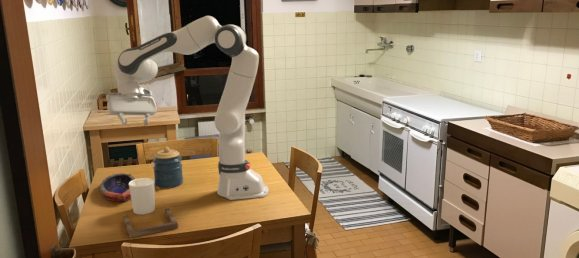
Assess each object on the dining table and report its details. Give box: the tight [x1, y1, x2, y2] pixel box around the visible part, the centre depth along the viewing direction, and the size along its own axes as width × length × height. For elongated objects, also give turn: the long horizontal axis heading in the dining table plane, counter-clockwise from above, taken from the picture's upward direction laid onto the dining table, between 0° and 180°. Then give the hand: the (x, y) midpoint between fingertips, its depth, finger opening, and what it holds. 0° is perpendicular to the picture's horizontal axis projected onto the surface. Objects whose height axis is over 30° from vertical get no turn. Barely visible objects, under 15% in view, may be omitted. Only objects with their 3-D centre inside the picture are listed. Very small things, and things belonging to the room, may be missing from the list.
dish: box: [99, 172, 136, 202], centre depth 206 cm, size 16×31×5 cm, turn 20°
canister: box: [152, 146, 184, 189], centre depth 214 cm, size 13×13×18 cm
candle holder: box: [129, 177, 156, 215], centre depth 186 cm, size 10×10×12 cm
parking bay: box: [123, 207, 179, 239], centre depth 174 cm, size 16×17×2 cm
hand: (135, 124), depth 191 cm, fingers open, 8 cm apart
